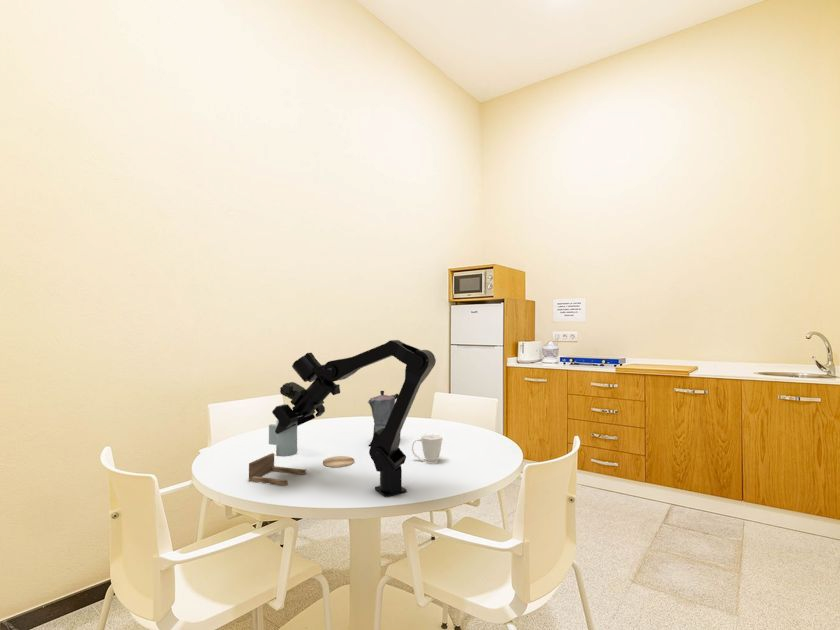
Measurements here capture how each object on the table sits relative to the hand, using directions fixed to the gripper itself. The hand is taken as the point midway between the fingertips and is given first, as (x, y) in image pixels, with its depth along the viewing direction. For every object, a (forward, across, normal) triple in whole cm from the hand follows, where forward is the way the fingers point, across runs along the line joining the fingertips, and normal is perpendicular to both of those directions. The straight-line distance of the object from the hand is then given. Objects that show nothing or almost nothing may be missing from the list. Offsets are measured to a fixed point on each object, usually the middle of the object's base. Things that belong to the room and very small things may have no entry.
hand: (282, 430), depth 123 cm
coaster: (+3, -17, +16) cm, 23 cm away
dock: (+10, +1, +9) cm, 13 cm away
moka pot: (0, -42, +20) cm, 47 cm away
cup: (-15, -27, +35) cm, 47 cm away
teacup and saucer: (+19, -18, +1) cm, 26 cm away
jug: (+5, 0, +5) cm, 7 cm away
